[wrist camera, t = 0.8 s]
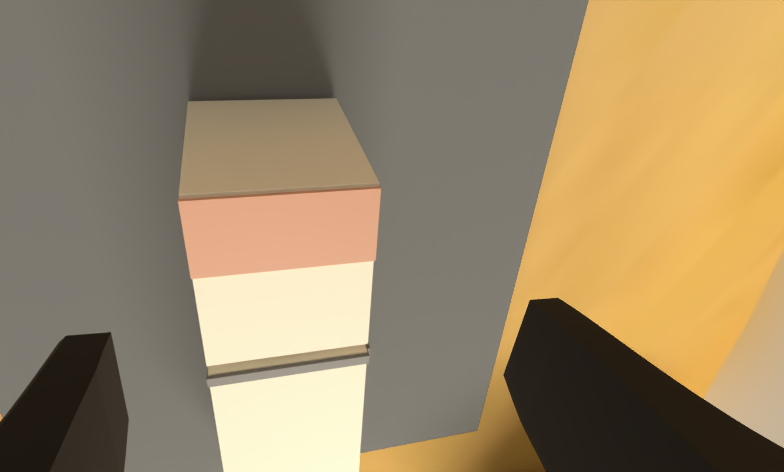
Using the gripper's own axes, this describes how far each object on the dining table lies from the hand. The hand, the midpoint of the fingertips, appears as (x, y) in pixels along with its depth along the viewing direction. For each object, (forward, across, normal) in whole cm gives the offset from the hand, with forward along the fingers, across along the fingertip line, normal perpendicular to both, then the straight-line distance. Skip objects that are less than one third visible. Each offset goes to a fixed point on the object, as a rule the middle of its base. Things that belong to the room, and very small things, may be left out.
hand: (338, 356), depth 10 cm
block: (+9, 0, +1) cm, 9 cm away
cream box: (+9, 0, +9) cm, 13 cm away
